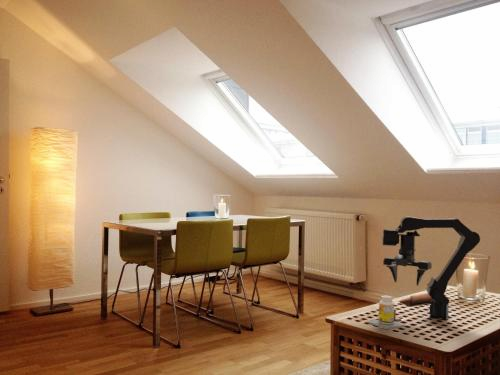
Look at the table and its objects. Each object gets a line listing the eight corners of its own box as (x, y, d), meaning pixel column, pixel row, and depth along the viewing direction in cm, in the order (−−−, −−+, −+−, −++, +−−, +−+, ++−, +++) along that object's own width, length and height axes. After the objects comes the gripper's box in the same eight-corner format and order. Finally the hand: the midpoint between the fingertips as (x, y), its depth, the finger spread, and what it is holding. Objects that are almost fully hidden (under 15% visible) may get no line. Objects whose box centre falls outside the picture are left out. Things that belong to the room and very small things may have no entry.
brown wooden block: (381, 313, 206) (381, 302, 206) (389, 313, 206) (389, 302, 206) (392, 321, 194) (392, 309, 194) (401, 321, 194) (401, 309, 194)
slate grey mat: (386, 320, 195) (386, 318, 195) (405, 326, 187) (405, 325, 187) (367, 322, 191) (367, 321, 191) (385, 329, 182) (385, 327, 182)
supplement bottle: (379, 320, 192) (379, 294, 192) (393, 322, 190) (394, 295, 191) (378, 324, 187) (379, 297, 187) (393, 325, 185) (394, 298, 185)
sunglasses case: (421, 298, 238) (427, 287, 235) (431, 308, 233) (438, 297, 230) (396, 302, 228) (402, 291, 225) (407, 312, 223) (413, 301, 220)
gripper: (378, 245, 204) (377, 283, 204) (423, 250, 193) (422, 289, 193) (388, 244, 213) (387, 279, 213) (432, 248, 202) (431, 286, 201)
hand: (406, 283), depth 205 cm, fingers open, 9 cm apart
